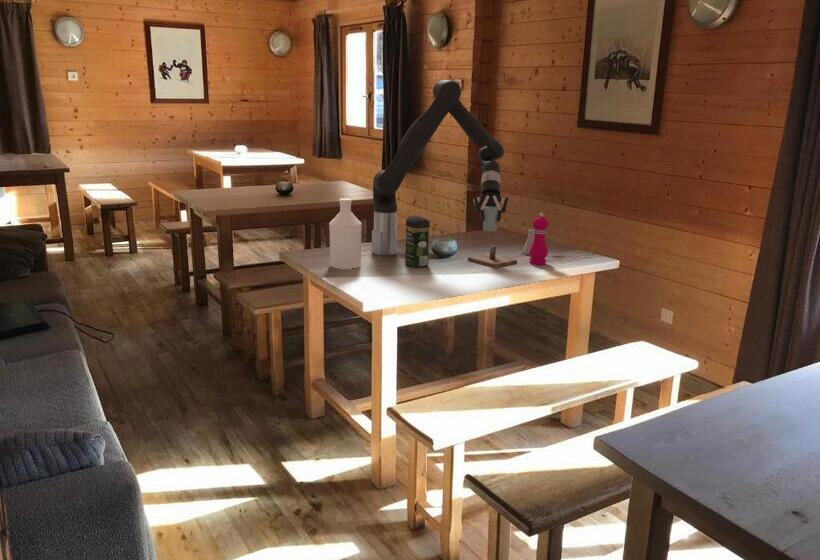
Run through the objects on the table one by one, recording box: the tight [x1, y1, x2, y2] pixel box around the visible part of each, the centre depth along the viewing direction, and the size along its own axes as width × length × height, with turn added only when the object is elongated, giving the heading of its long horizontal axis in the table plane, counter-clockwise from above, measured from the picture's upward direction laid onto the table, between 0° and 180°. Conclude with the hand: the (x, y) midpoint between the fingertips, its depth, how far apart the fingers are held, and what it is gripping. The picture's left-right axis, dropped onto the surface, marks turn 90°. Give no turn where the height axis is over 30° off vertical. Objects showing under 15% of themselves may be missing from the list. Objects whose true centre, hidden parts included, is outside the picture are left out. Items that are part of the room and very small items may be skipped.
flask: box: [521, 228, 534, 256], centre depth 279 cm, size 7×7×10 cm
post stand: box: [467, 245, 518, 268], centre depth 264 cm, size 13×14×6 cm
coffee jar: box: [404, 215, 431, 268], centre depth 254 cm, size 10×8×19 cm
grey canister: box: [482, 206, 498, 232], centre depth 262 cm, size 5×5×9 cm
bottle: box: [328, 197, 363, 270], centre depth 249 cm, size 12×12×25 cm
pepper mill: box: [529, 212, 550, 266], centre depth 261 cm, size 7×7×20 cm
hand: (490, 220), depth 260 cm, fingers closed on grey canister, 5 cm apart
